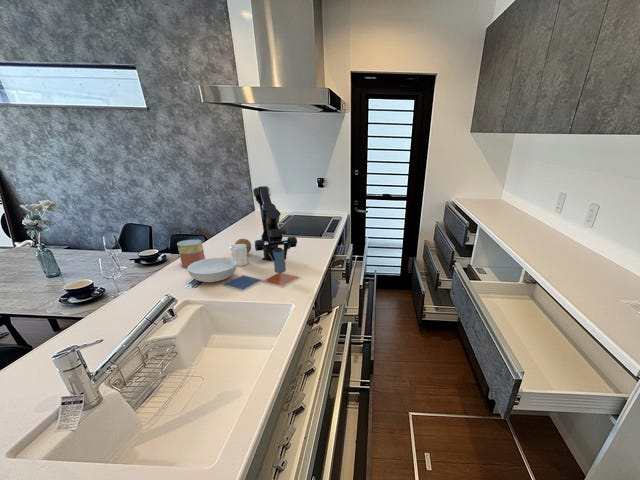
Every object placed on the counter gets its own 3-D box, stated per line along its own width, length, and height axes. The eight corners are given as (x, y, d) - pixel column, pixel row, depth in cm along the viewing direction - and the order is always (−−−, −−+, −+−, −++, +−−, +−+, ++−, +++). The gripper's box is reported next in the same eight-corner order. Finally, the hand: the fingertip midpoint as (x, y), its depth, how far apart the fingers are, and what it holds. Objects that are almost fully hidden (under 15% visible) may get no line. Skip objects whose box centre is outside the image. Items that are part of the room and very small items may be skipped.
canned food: (184, 261, 165) (179, 240, 160) (207, 259, 168) (203, 238, 163) (179, 268, 155) (174, 246, 150) (204, 266, 158) (199, 244, 154)
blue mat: (223, 285, 138) (223, 284, 138) (243, 276, 149) (243, 275, 148) (243, 290, 134) (242, 289, 134) (262, 280, 144) (262, 279, 144)
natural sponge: (242, 259, 171) (239, 241, 167) (232, 255, 175) (229, 239, 171) (255, 254, 178) (253, 238, 174) (245, 251, 182) (243, 235, 178)
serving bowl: (182, 288, 134) (179, 274, 132) (199, 270, 153) (196, 257, 151) (232, 286, 138) (230, 272, 135) (242, 269, 157) (240, 256, 154)
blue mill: (272, 271, 141) (270, 249, 137) (279, 268, 145) (277, 246, 141) (281, 273, 139) (278, 251, 135) (288, 270, 144) (286, 248, 139)
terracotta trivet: (262, 282, 143) (262, 281, 143) (279, 273, 153) (279, 272, 153) (282, 287, 138) (282, 286, 138) (298, 277, 148) (298, 277, 148)
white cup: (251, 262, 166) (249, 244, 162) (241, 267, 159) (239, 249, 155) (240, 260, 168) (237, 243, 164) (229, 265, 162) (226, 247, 158)
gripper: (252, 222, 133) (258, 254, 128) (294, 219, 140) (302, 249, 136) (252, 235, 142) (258, 265, 138) (292, 232, 150) (299, 260, 145)
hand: (279, 259), depth 139 cm, fingers closed on blue mill, 5 cm apart
